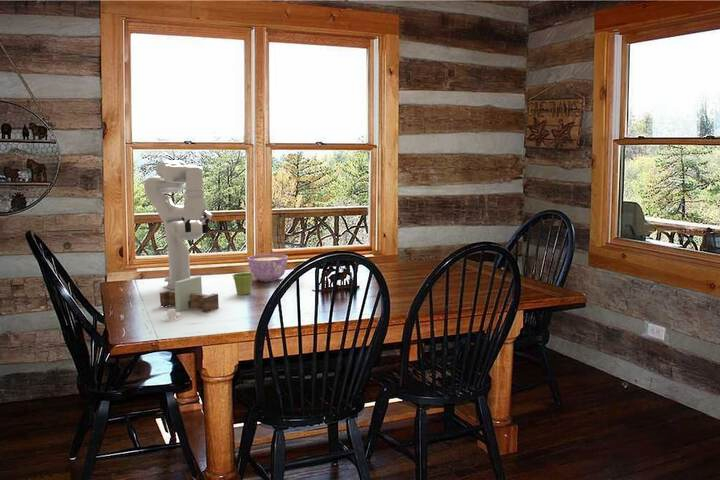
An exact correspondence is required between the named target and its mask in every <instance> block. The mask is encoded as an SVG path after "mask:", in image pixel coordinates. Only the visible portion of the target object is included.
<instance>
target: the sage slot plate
mask: <svg viewBox="0 0 720 480" xmlns="http://www.w3.org/2000/svg"><path fill="white" fill-rule="evenodd" d="M174 286H175V304H176V307H175V309H176V312H182V310H183V311H185V310H188V309H190V308H189V307H188V301H191V297H190V294H193V293H197V294H203V288H202V286H203V285H202V276H201V275H200V276H199V275H195V276H192V277H191V276H190V278H188V279H184V280H180V281H177V282H174Z"/></svg>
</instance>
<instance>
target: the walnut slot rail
mask: <svg viewBox="0 0 720 480" xmlns="http://www.w3.org/2000/svg"><path fill="white" fill-rule="evenodd" d="M190 297H191V301H188V307H189V309H193V310H201V312H202V313H208V312H211V311H214V310H217V309H219V308H220V307H219V306H220V305H219V293H211V294H203V293H202V294H197V293H193V294H190ZM159 302H160V304H159V305H160V307H161V306H163V307H162V308H167V307H175V306H176V304H175V289H167V290H166V291H161V292H159ZM169 305H171V306H169ZM166 306H167V307H166Z"/></svg>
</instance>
